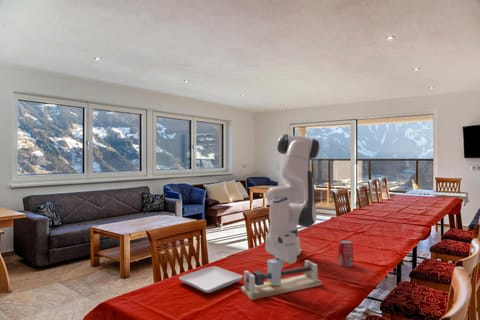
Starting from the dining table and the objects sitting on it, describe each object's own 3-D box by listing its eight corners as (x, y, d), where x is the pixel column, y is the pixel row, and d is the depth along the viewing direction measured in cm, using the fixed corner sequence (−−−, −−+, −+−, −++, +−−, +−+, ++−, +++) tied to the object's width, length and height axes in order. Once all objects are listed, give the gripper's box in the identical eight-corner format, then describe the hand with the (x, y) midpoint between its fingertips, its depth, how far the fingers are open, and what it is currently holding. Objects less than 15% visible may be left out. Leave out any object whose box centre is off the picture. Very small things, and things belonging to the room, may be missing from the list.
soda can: (341, 261, 171) (341, 239, 171) (355, 264, 166) (355, 241, 166) (336, 265, 165) (336, 242, 165) (350, 268, 161) (349, 244, 161)
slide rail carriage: (267, 281, 138) (267, 260, 138) (275, 279, 140) (275, 258, 140) (272, 284, 134) (272, 263, 134) (280, 283, 136) (280, 261, 136)
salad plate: (177, 284, 145) (177, 276, 145) (213, 271, 160) (213, 264, 160) (207, 298, 130) (206, 290, 130) (244, 283, 145) (244, 275, 145)
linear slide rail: (241, 290, 137) (240, 270, 136) (308, 276, 150) (307, 258, 150) (251, 299, 127) (251, 278, 127) (321, 284, 141) (321, 265, 141)
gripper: (261, 231, 146) (262, 261, 146) (286, 241, 128) (286, 276, 128) (273, 229, 149) (274, 259, 149) (299, 239, 130) (299, 274, 130)
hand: (280, 267), depth 138 cm, fingers closed, pressing on slide rail carriage
